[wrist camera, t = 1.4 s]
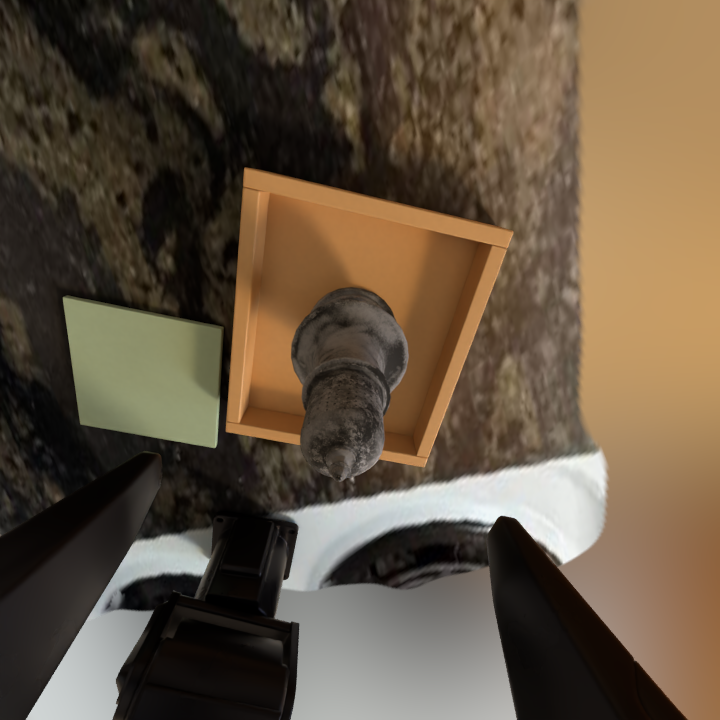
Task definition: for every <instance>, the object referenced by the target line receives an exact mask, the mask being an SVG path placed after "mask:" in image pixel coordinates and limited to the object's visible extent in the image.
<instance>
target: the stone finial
mask: <svg viewBox="0 0 720 720" xmlns="http://www.w3.org/2000/svg"><path fill="white" fill-rule="evenodd" d="M408 358H409V354H408V343H407V340H406V338H405V335H404V333H403V330H402V328H401V327H400V326H399V324H398V323H397V322H396V319H395V317H394V314H393V312H392V310H391V308H390V307H389V306H388V304H387V303H386V302H385V300H383V299H382V298H381V297H379V296H378V295H377V294H375V293H373V292H371V291H368V290H366V289H363V288H354V287H348V288H341V289H337V290H335V291H332V292H330V293H328V294H326V295H325V296H324V297H322V298H321V299H320V300H319V301H318V302H317V303H316V305H315V306H314V307H313V309H312V310H311V313H310V314H309V315H307V316H306V317H305V318H304V320H303V321H302V322H301V324H300V325H299V326H298V328H297V329H296V332H295V335H294V338H293V341H292V344H291V360H292V364H293V368H294V371H295V373H296V375H297V377H298V379H299V380H300V382H301V384H302V385H303V387H302V397H301V398H302V403H303V407H304V409H305V411H306V414H305V417H304V421H303V425H302V429H301V435H300V446H301V450H302V454H303V456H304V458H305V459H306V461H307V462H308V463H309V464H310V465H311V466H312V467H313V468H314V469H315V470H316V471H318V472H320V473H321V474H323V475H326V476H329V477H332V478H333V479H334V480H336V481H337V482H341V481H343V480H344V479H346V478H350V477H354V476H357V475H360V474H361V473H363V472H365V471H367V470H368V469H370V468H371V467H372V466H373V465H374V464H375V463H376V462H377V461H378V459H379V457H380V456H381V454H382V450H383V446H384V441H385V436H384V423H383V417H384V415H385V414H386V412H387V410H388V408H389V405H390V400H391V392H392V391H393V390H394V389H395V388H396V386H397V385H398V384H399V383H400V381H401V380H402V378H403V376H404V374H405V372H406V368H407V363H408Z"/></svg>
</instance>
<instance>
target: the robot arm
mask: <svg viewBox="0 0 720 720" xmlns="http://www.w3.org/2000/svg"><path fill="white" fill-rule="evenodd" d="M162 479H163V471H162V459H161V456H160V454H158V453H153V452H147V451H144V452H141V453H139V454H137V455H135V456H134V457H132V458H130V459H129V460H127V461H125V462H124V463H122V464H120V465H119V466H117V467H115V468H114V469H112V470H110V471H109V472H107V473H105V474H104V475H102V476H100V477H99V478H97V479H95V480H94V481H92V482H90V483H89V484H87V485H85V486H84V487H82V488H80V489H79V490H77V491H75V492H74V493H72V494H70V495H69V496H67V497H65V498H64V499H62V500H60V501H59V502H57V503H55V504H54V505H52V506H50V507H49V508H47V509H45V510H44V511H42V512H40V513H39V514H37V515H35V516H34V517H32V518H30V519H29V520H27V521H25V522H24V523H22V524H20V525H19V526H17V527H15V528H14V529H12V530H10V531H9V532H7V533H5V534H4V535H2V536H0V720H26V718H27V716H28V715H29V713H30V712H31V710H32V708H33V707H34V705H35V703H36V702H37V700H38V698H39V697H40V695H41V693H42V692H43V690H44V688H45V687H46V685H47V684H48V682H49V680H50V679H51V677H52V675H53V674H54V672H55V670H56V669H57V667H58V666H59V664H60V662H61V661H62V659H63V657H64V656H65V654H66V652H67V651H68V649H69V647H70V646H71V644H72V642H73V641H74V639H75V638H76V636H77V634H78V633H79V631H80V629H81V628H82V626H83V625H84V623H85V621H86V620H87V618H88V616H89V615H90V613H91V611H92V610H93V608H94V606H95V605H96V603H97V602H98V600H99V598H100V597H101V595H102V593H103V592H104V590H105V588H106V587H107V585H108V583H109V582H110V580H111V579H112V577H113V575H114V574H115V572H116V570H117V569H118V567H119V565H120V564H121V562H122V560H123V559H124V557H125V556H126V554H127V552H128V551H129V549H130V547H131V545H132V544H133V542H134V540H135V538H136V536H137V534H138V532H139V530H140V527H141V525H142V523H143V521H144V519H145V517H146V515H147V513H148V511H149V509H150V506H151V504H152V502H153V500H154V498H155V496H156V494H157V492H158V490H159V488H160V485H161V483H162ZM298 529H299V527H298V525H297V524H295V523H290V522H284V521H278V520H272V519H266V518H259V517H253V516H247V515H241V514H235V513H228V512H221V511H220V512H217V513H216V515H215V517H214V521H213V538H212V554H211V558H210V561H209V563H208V565H207V568H206V570H205V573H204V575H203V577H202V580H201V582H200V585H199V587H198V590H197V592H196V594H195V597H194V598H191V597H187V596H184V595H181V593H179V592H175V591H173V592H172V594H171V596H170V598H169V600H168V602H167V601H166V603H162V604H158V605H157V606H156V608H155V610H154V612H153V614H152V616H151V618H150V620H149V622H148V624H147V626H146V628H145V630H144V632H143V634H142V635H141V637H140V639H139V640H138V642H137V644H136V645H135V647H134V648H133V650H132V652H131V653H130V655H129V657H128V658H127V660H126V661H125V663H124V665H123V666H122V668H121V670H120V672H119V674H118V677H117V679H116V684H117V687H118V691H119V697H118V699H117V702H116V704H118V706H117V709H116V712H115V714H114V717H113V720H290V719H291V714H292V710H293V705H294V699H295V692H296V680H297V679H296V678H297V659H298V658H297V657H298V639H299V623H295V622H291V623H289V622H285V621H281V620H278V619H275V616H276V611H277V605H278V601H279V596H280V592H281V587H282V582H283V580H286V579H288V577H289V573H290V568H291V563H292V558H293V553H294V548H295V544H296V539H297V534H298ZM487 549H488V558H489V568H490V578H491V586H492V596H493V603H494V608H495V614H496V619H497V624H498V629H499V634H500V639H501V643H502V648H503V653H504V658H505V663H506V668H507V673H508V678H509V683H510V688H511V693H512V697H513V702H514V707H515V711H516V717H517V720H687V718H686V717H685V716H684V715H683V714H682V713H681V712H680V711H679V710H678V709H677V708H676V706H675V705H674V704H673V703H672V702H671V701H670V699H669V698H668V697H667V696H666V695H665V694H664V693H663V691H662V690H661V689H660V688H659V687H658V686H657V684H656V683H655V682H654V681H653V680H652V679H651V678H650V676H649V675H648V674H647V673H646V672H645V670H643V668H642V667H641V666H640V665H639V663H637V661H634V658H633V657H632V655H631V654H630V653H629V652H628V651H627V649H626V648H625V647H624V646H623V645H622V643H621V642H620V641H619V640H618V639H617V638H616V636H615V635H614V634H613V633H612V632H611V630H610V629H609V628H608V627H607V626H606V624H605V623H604V622H603V621H602V620H601V619H600V617H599V616H598V615H597V614H596V613H595V612H594V610H593V609H592V608H591V607H590V606H589V605H588V603H587V602H586V601H585V600H584V599H583V598H582V596H581V595H580V594H579V593H578V591H577V590H576V589H575V588H574V587H573V585H572V584H571V583H570V582H569V581H568V580H567V578H566V577H565V576H564V575H563V574H562V572H561V571H560V570H559V569H558V568H557V567H556V565H555V564H554V563H553V562H552V561H551V559H550V558H549V557H548V556H547V555H546V554H545V552H544V551H543V550H542V549H541V548H540V546H539V545H538V544H537V543H536V542H535V541H534V539H533V538H532V537H531V536H530V535H529V533H528V532H527V531H526V530H525V529H524V528H523V526H522V525H521V524H520V523H519V522H518V521H517V520H516V519H515V518H511V517H506V516H500V517H498V519H497V520H496V522H495V523H494V525H493V527H492V528H491V530H490V531H489V533H488V536H487Z"/></svg>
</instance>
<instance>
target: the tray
mask: <svg viewBox="0 0 720 720" xmlns="http://www.w3.org/2000/svg"><path fill="white" fill-rule="evenodd" d="M243 186H244V187H243V192H242V206H241V220H240V235H239V249H238V263H237V277H236V292H235V306H234V320H233V334H232V349H231V363H230V377H229V392H228V406H227V422H226V432H230V433H236V434H241V435H247V436H253V437H258V438H264V439H269V440H275V441H280V442H286V443H292V444H297V445H300V435H301V429H302V425H303V421H304V417H305V414H306V411H305V409H304V407H303V403H302V398H301V397H302V387H303V385H302V384H301V382H300V380H299V379H298V377H297V375H296V373H295V371H294V368H293V364H292V360H291V344H292V341H293V338H294V335H295V332H296V329H297V328H298V326H299V325H300V324H301V322H302V321H303V320H304V318H305V317H306V316H307V315H309V314H310V313H311V310H312V309H313V307H314V306H315V305H316V303H317V302H318V301H319V300H320V299H321V298H322V297H324V296H325V295H326V294H328V293H330V292H332V291H335V290H337V289H341V288H348V287H354V288H363V289H366V290H368V291H371V292H373V293H375V294H377V295H378V296H379V297H381V298H382V299H383V300H385V302H386V303H387V304H388V306H389V307H390V308H391V310H392V312H393V314H394V317H395V319H396V322H397V323H398V324H399V326H400V327H401V328H402V330H403V333H404V335H405V338H406V340H407V343H408V354H409V358H408V363H407V368H406V372H405V374H404V376H403V378H402V380H401V381H400V383H399V384H398V385H397V386H396V388H395V389H394V390H393V391H392V392H391V400H390V405H389V408H388V410H387V412H386V414H385V415H384V417H383V423H384V436H385V441H384V446H383V450H382V454H381V456H380V457H379V459H381V460H387V461H392V462H398V463H403V464H409V465H414V466H420V467H425V464H426V462H427V459H428V457H429V454H430V452H431V449H432V446H433V444H434V441H435V438H436V436H437V433H438V430H439V428H440V425H441V423H442V420H443V417H444V415H445V412H446V409H447V407H448V404H449V401H450V399H451V396H452V393H453V391H454V388H455V386H456V383H457V380H458V378H459V375H460V372H461V370H462V367H463V364H464V362H465V359H466V356H467V354H468V351H469V349H470V346H471V343H472V341H473V338H474V335H475V333H476V330H477V327H478V325H479V322H480V319H481V317H482V314H483V312H484V309H485V306H486V304H487V301H488V298H489V296H490V293H491V290H492V288H493V285H494V283H495V280H496V277H497V275H498V272H499V269H500V267H501V264H502V261H503V259H504V256H505V253H506V251H507V247H508V245H509V243H510V240H511V237H512V235H513V231H512V230H508V229H505V228H502V227H498V226H495V225H490V224H486V223H482V222H478V221H474V220H469V219H465V218H461V217H457V216H453V215H448V214H444V213H440V212H436V211H432V210H427V209H423V208H419V207H415V206H411V205H406V204H402V203H398V202H394V201H390V200H385V199H381V198H377V197H373V196H369V195H364V194H360V193H356V192H352V191H348V190H344V189H339V188H335V187H331V186H327V185H323V184H318V183H314V182H310V181H306V180H302V179H297V178H293V177H289V176H285V175H281V174H276V173H272V172H268V171H264V170H260V169H253V168H247V167H245V168H244V176H243Z"/></svg>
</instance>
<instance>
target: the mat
mask: <svg viewBox="0 0 720 720" xmlns="http://www.w3.org/2000/svg"><path fill="white" fill-rule="evenodd" d="M63 304H64V311H65V318H66V325H67V333H68V340H69V347H70V354H71V361H72V368H73V375H74V383H75V390H76V397H77V404H78V411H79V418H80V424H81V425H86V426H92V427H98V428H104V429H109V430H115V431H121V432H126V433H132V434H138V435H143V436H149V437H155V438H161V439H166V440H172V441H178V442H183V443H189V444H195V445H201V446H206V447H212V448H215V447H216V445H217V436H218V419H219V402H220V385H221V368H222V351H223V334H224V327H221V326H217V325H212V324H207V323H202V322H197V321H192V320H187V319H182V318H177V317H172V316H167V315H162V314H157V313H152V312H147V311H142V310H137V309H132V308H127V307H122V306H117V305H113V304H108V303H103V302H98V301H93V300H88V299H83V298H78V297H73V296H68V295H67V296H64V297H63Z"/></svg>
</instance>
